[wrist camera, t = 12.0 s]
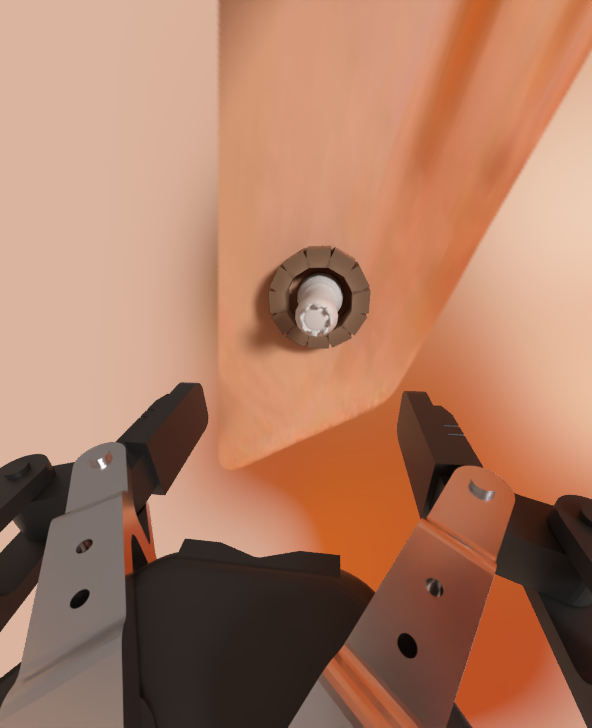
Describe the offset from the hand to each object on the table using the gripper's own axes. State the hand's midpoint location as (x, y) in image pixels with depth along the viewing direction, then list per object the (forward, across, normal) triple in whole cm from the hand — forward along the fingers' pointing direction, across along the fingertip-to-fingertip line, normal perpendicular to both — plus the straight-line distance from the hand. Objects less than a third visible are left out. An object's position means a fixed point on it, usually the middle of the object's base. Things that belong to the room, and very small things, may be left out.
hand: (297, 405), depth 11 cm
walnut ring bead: (+18, 0, 0) cm, 19 cm away
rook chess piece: (+19, 0, 0) cm, 19 cm away
